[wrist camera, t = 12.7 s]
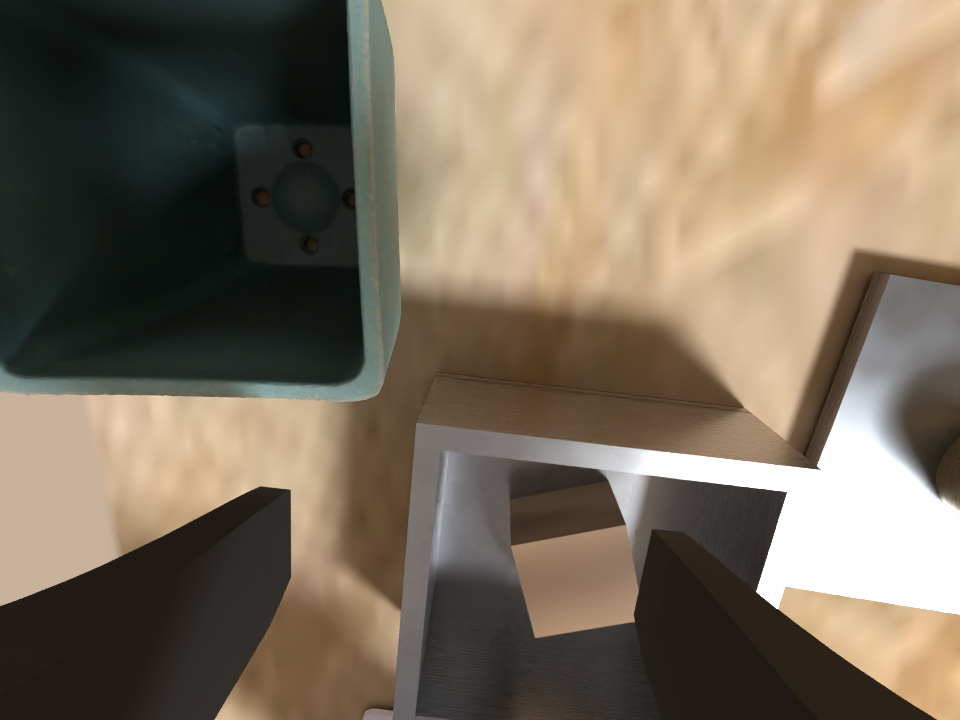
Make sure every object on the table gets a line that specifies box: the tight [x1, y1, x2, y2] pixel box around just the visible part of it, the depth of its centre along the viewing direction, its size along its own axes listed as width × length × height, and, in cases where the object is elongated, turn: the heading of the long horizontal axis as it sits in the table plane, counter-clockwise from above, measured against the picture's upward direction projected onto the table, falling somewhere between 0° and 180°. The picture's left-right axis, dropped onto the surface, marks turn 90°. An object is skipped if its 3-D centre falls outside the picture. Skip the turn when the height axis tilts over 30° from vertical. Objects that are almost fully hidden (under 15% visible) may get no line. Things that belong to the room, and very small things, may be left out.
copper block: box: [510, 481, 639, 638], centre depth 20 cm, size 4×4×3 cm
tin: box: [392, 372, 823, 720], centre depth 19 cm, size 12×12×5 cm
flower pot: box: [0, 0, 401, 402], centre depth 14 cm, size 9×9×9 cm
